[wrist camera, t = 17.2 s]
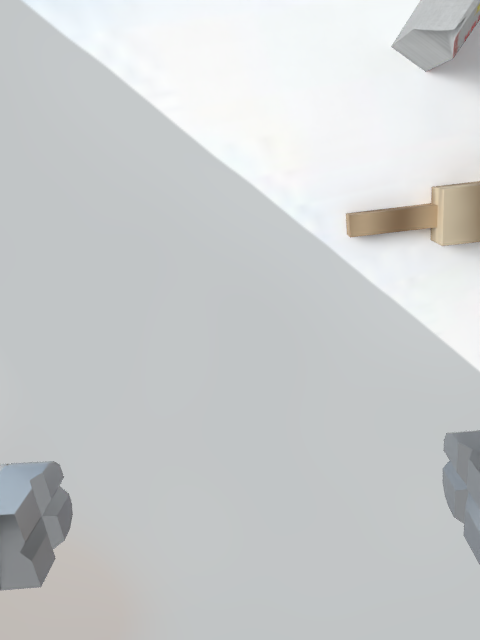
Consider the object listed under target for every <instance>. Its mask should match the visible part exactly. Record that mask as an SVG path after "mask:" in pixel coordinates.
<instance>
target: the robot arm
mask: <svg viewBox="0 0 480 640" xmlns="http://www.w3.org/2000/svg"><path fill="white" fill-rule="evenodd" d="M444 452H445V453H446V455H447V457H448V458H449V460H450V461H449V462H448V463H447V464H446V465H445V467H444V468H443V486H444V492H445V497H446V500H447V503H448V506H449V508H450V510H451V512H452V514H453V516H454V517H455V518H456V519H458V520H459V521H461V522H463V523H464V537H465V539H466V540H467V542H468V544H469V546H470V548H471V550H472V551H473V553H474V555H475V557H476V559H477V561H478V563H479V564H480V430H476V431H464V432H452V433H446V436H445V439H444ZM63 478H64V476H63V473H62V470H61V467H60V465H59V464H58V463H56V462H54V461H50V462H30V463H11V464H0V590H12V589H24V588H36V587H41V586H42V584H43V582H44V580H45V578H46V576H47V574H48V572H49V570H50V568H51V566H52V564H53V562H54V560H55V555H54V552H53V549H54V548H55V547H57V546H58V545H59V544H60V543H62V542H63V541H64V540H65V538H66V536H67V534H68V532H69V529H70V525H71V520H72V515H73V514H72V503H71V499H70V496H69V493H67V492H66V491H65V490H63V489H62V488H61V487H60V484H61V482H62V480H63Z"/></svg>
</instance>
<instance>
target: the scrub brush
mask: <svg viewBox="0 0 480 640" xmlns="http://www.w3.org/2000/svg"><path fill="white" fill-rule="evenodd" d="M346 222H347V235H348V236H349V237H357V236H366V235H374V234H383V233H391V232H400V231H408V230H417V229H425V228H431V240H432V241H434V242H436V243H438V244H440V245H442V246H447V245H456V244H464V243H473V242H480V181H477V182H468V183H460V184H452V185H444V186H436V187H432V198H431V203H430V204H422V205H414V206H405V207H397V208H389V209H381V210H372V211H364V212H356V213H347V214H346Z"/></svg>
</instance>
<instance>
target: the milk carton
mask: <svg viewBox="0 0 480 640" xmlns="http://www.w3.org/2000/svg"><path fill="white" fill-rule="evenodd" d="M479 20H480V0H420V2H419V4H418V5H417V7H416V8H415V10H414V11H413V13H412V15H411V16H410V18H409V19H408V21H407V23H406V24H405V26H404V27H403V29H402V30H401V32H400V34H399V35H398V37H397V38H396V40H395V41H394V43H393V45H392V46H391V47H392V48H394V49H395V50H396V51H398V52H399V53H401V54H402V55H403V56H405V57H406V58H407V59H409V60H410V61H412V62H413V63H414V64H416V65H417V66H418V67H420V68H421V69H422V70H424V71H425V72H426V71H428V70H430V69H432V68H434V67H436V66H439V65H441V64H443V63H445V62H447V61H449V60H451V59H453V58H454V56H455V55H456V53H457V52H458V50H459V49H460V47H461V46H462V45H463V43H464V42H465V40H466V39H467V37H468V36H469V34H470V33H471V31H472V30H473V28H474V27H475V26H476V24H477V23H478V21H479Z"/></svg>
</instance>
